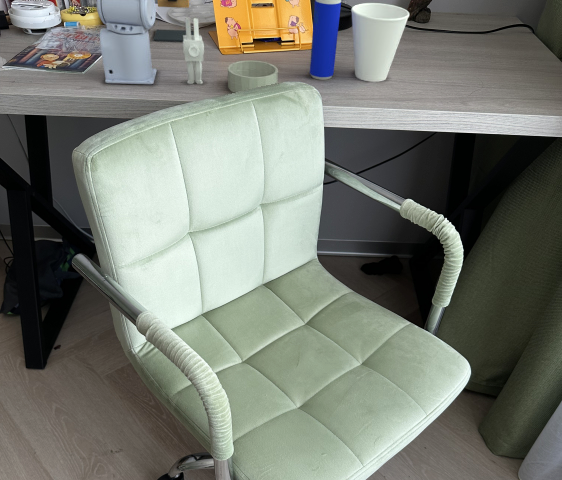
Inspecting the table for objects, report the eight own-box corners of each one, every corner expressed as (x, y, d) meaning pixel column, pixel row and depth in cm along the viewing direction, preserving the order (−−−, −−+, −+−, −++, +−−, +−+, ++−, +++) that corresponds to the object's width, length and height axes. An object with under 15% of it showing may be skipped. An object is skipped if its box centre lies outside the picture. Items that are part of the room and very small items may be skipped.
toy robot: (186, 91, 114) (181, 22, 105) (184, 77, 119) (180, 11, 111) (206, 91, 115) (203, 23, 106) (203, 77, 120) (200, 11, 111)
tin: (228, 95, 113) (227, 77, 111) (228, 77, 120) (227, 59, 118) (278, 97, 114) (279, 78, 112) (275, 79, 121) (276, 61, 119)
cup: (332, 73, 125) (339, 7, 116) (368, 63, 131) (377, -1, 122) (373, 90, 119) (383, 22, 110) (409, 78, 125) (421, 13, 116)
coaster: (153, 40, 135) (153, 39, 134) (156, 31, 140) (156, 29, 140) (192, 42, 135) (192, 40, 135) (193, 32, 141) (193, 30, 140)
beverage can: (318, 70, 126) (325, -10, 115) (337, 76, 124) (346, -5, 113) (304, 76, 123) (310, -6, 112) (323, 82, 121) (331, -1, 110)
